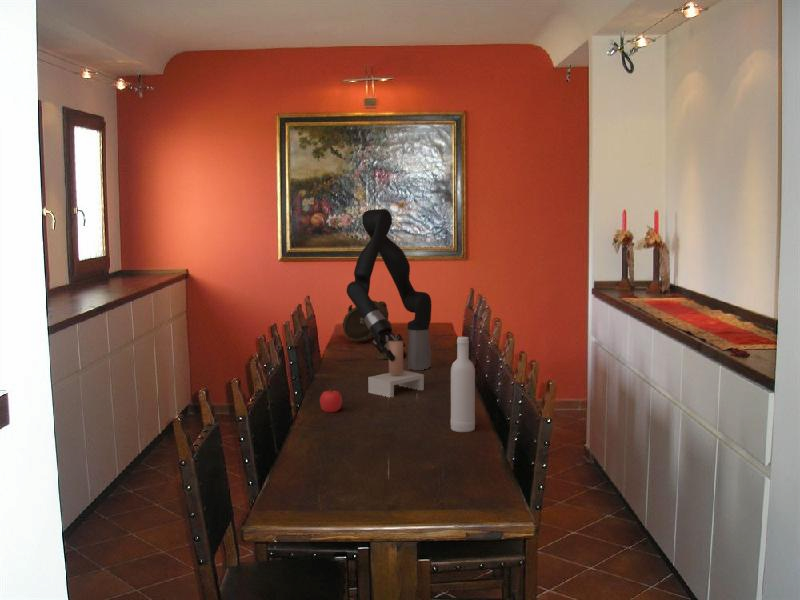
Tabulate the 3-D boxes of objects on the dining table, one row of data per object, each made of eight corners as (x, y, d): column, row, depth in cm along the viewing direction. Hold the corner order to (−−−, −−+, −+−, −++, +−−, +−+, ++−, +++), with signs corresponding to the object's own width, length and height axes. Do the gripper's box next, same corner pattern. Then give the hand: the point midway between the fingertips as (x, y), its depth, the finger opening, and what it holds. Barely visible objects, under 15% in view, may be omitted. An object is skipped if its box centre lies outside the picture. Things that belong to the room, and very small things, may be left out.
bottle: (458, 433, 283) (458, 340, 279) (445, 427, 289) (445, 336, 286) (479, 430, 286) (480, 338, 282) (466, 424, 293) (467, 334, 289)
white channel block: (401, 385, 352) (401, 370, 352) (423, 389, 344) (423, 374, 343) (368, 392, 340) (368, 377, 339) (390, 397, 331) (390, 381, 331)
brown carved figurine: (375, 361, 400) (374, 322, 398) (375, 356, 413) (375, 317, 411) (394, 361, 400) (394, 322, 398) (394, 356, 413) (394, 317, 411)
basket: (344, 308, 478) (331, 307, 444) (382, 290, 476) (371, 287, 442) (363, 348, 476) (351, 349, 442) (401, 330, 474) (392, 330, 439)
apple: (333, 414, 307) (333, 392, 306) (315, 411, 311) (314, 389, 310) (346, 409, 314) (346, 387, 313) (328, 407, 318) (328, 385, 317)
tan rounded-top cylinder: (396, 370, 345) (396, 339, 343) (406, 372, 341) (406, 341, 339) (385, 372, 341) (385, 341, 340) (395, 374, 337) (395, 343, 336)
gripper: (368, 320, 339) (390, 355, 332) (395, 316, 349) (417, 350, 342) (359, 332, 343) (380, 367, 336) (386, 328, 353) (407, 362, 346)
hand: (399, 358), depth 339 cm, fingers closed on tan rounded-top cylinder, 5 cm apart
